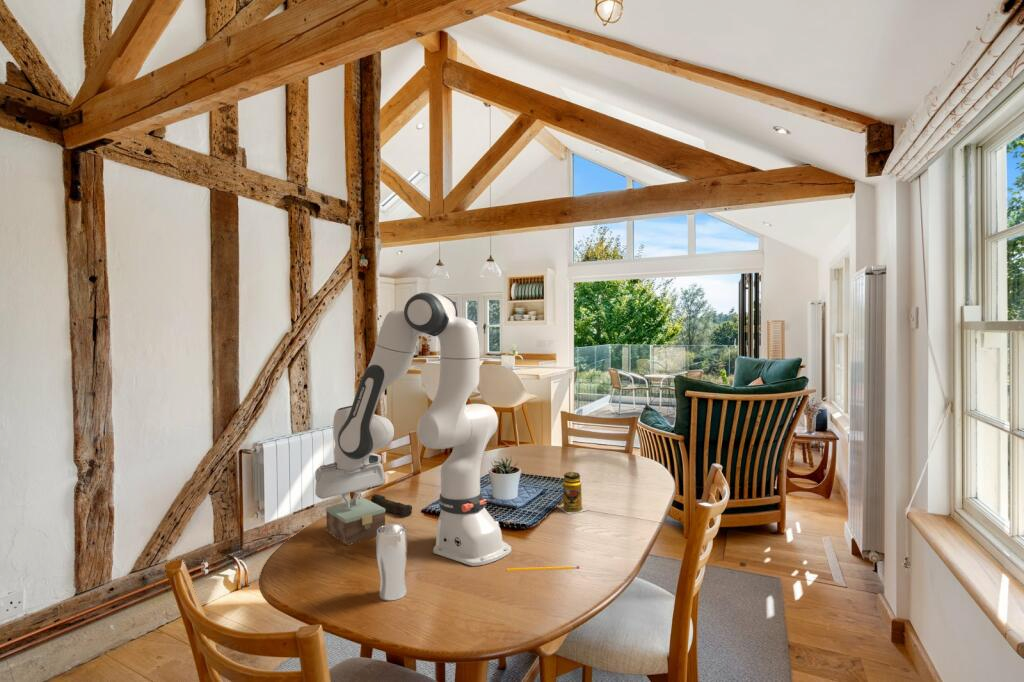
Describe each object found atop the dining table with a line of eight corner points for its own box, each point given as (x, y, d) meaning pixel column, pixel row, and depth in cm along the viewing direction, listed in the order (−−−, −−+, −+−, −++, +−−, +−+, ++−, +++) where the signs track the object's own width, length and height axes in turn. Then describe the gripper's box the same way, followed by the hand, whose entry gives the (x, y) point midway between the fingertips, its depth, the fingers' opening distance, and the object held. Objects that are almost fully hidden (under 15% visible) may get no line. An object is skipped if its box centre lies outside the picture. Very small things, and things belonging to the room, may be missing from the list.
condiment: (568, 514, 163) (567, 477, 163) (556, 506, 171) (555, 471, 171) (587, 511, 166) (587, 474, 166) (574, 503, 174) (574, 468, 174)
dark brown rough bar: (413, 515, 166) (412, 501, 166) (403, 519, 163) (403, 505, 163) (378, 504, 178) (377, 491, 178) (368, 507, 174) (368, 494, 174)
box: (386, 534, 150) (386, 512, 149) (348, 546, 141) (347, 523, 141) (363, 521, 160) (363, 501, 160) (327, 532, 152) (326, 510, 152)
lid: (386, 518, 150) (386, 509, 150) (347, 530, 141) (346, 520, 141) (364, 506, 161) (363, 497, 160) (325, 516, 152) (325, 507, 152)
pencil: (579, 570, 125) (579, 567, 125) (506, 572, 125) (506, 569, 125) (579, 568, 126) (578, 565, 126) (506, 570, 126) (506, 568, 126)
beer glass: (380, 587, 118) (378, 524, 118) (410, 585, 119) (408, 522, 119) (374, 603, 111) (372, 535, 111) (406, 600, 112) (404, 534, 112)
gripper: (319, 468, 140) (321, 518, 140) (385, 455, 153) (387, 500, 153) (310, 464, 144) (312, 512, 144) (376, 452, 158) (377, 496, 158)
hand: (351, 506), depth 149 cm, fingers closed
